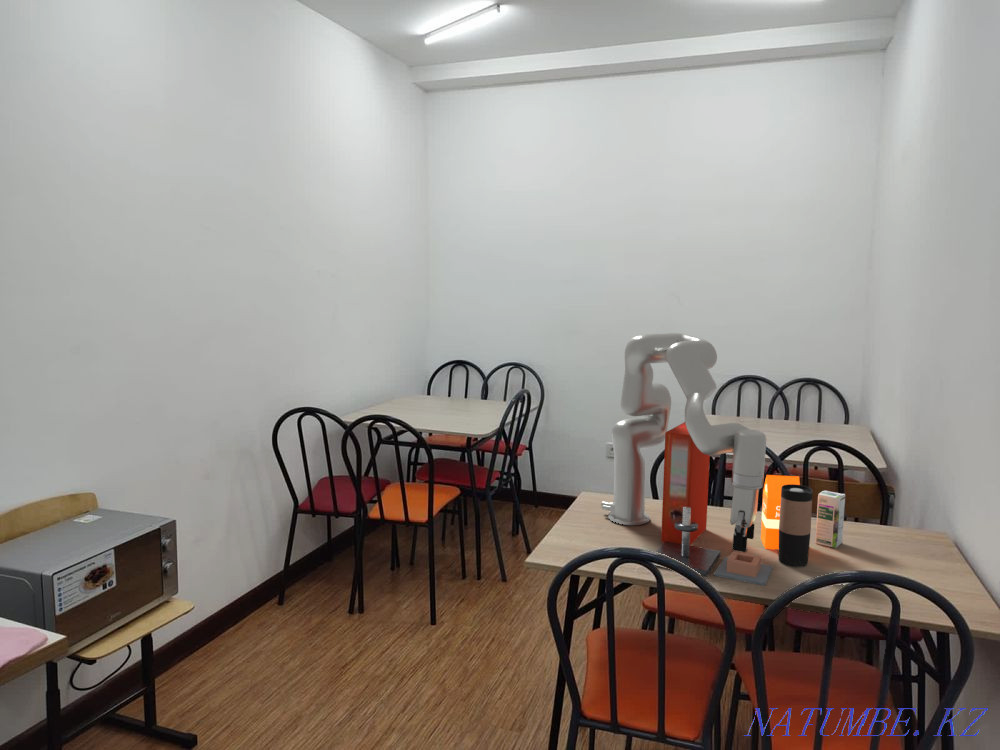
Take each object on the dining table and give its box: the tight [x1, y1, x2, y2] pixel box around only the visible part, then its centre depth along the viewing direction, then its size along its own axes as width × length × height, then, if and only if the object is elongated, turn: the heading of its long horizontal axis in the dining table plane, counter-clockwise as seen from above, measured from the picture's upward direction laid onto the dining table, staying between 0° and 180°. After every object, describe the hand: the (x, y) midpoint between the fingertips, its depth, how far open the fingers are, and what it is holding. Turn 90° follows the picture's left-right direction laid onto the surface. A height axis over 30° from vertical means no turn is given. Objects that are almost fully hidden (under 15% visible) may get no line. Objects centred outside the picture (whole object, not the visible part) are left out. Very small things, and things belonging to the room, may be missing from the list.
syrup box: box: [814, 490, 846, 549], centre depth 198 cm, size 6×6×14 cm
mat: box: [713, 557, 774, 587], centre depth 179 cm, size 12×12×1 cm
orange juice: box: [760, 474, 801, 551], centre depth 196 cm, size 8×9×20 cm
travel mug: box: [778, 484, 814, 568], centre depth 184 cm, size 8×8×20 cm
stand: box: [655, 507, 722, 577], centre depth 186 cm, size 15×15×14 cm
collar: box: [727, 550, 762, 577], centre depth 179 cm, size 7×7×3 cm
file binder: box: [660, 421, 711, 546], centre depth 203 cm, size 8×17×32 cm, turn 148°
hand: (743, 544), depth 179 cm, fingers open, 9 cm apart
